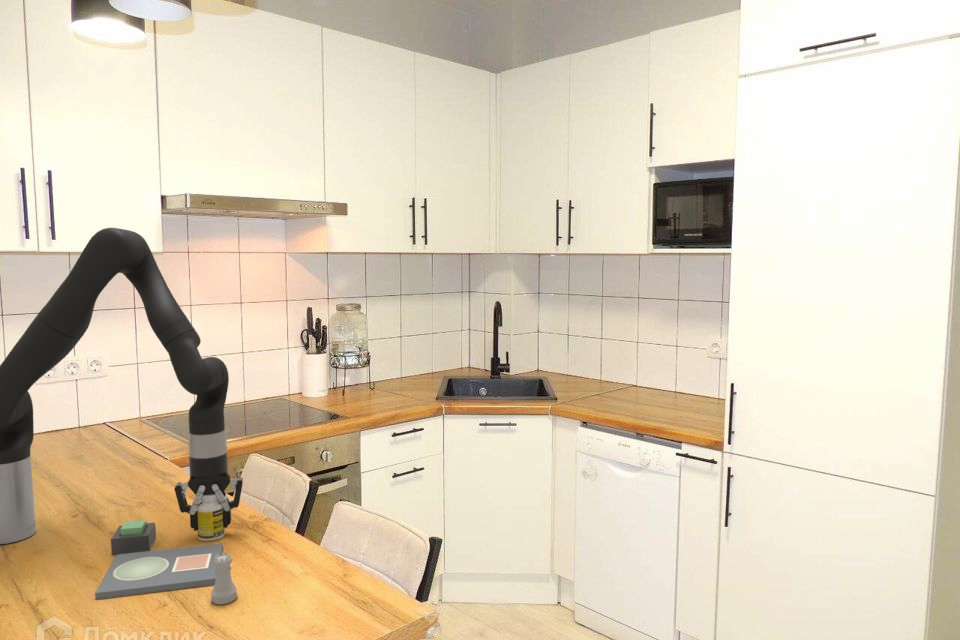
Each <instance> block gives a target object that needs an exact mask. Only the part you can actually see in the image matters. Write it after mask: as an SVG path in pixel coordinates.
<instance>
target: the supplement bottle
mask: <svg viewBox="0 0 960 640" xmlns="http://www.w3.org/2000/svg"><path fill="white" fill-rule="evenodd" d="M223 511H224V508H223V506H222V504H221V503H220V502H219V500H218V498H217V496H216V494H211V495H202V497H201V500H200V502H199V505H198V507H197V523H198V531H197V538H198V540H200V541H202V542H203V541H204V542H213V541H217V540H219V539H221V538H223V537H224V536H225V535H226V534H225V533H226V531H225V530H226V528H224V517H223Z"/></svg>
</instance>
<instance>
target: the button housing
mask: <svg viewBox="0 0 960 640" xmlns="http://www.w3.org/2000/svg"><path fill="white" fill-rule="evenodd" d="M122 526H123V525H119V526H118V527H117V528H116V530H115V532H114V533H113V535H112V537H111V538H110V548H111V556H112V557H113V556H115V557H116V555H118V554H127V553H136V552H145V551H151V550H150V549H152V548H153V545H154V543H155V541H156V539H157V533H156V522H154V521H152V522H146V530H145V532H144V534H136V535H126V536H121V530H120V529H121V528H122ZM151 547H152V548H151Z"/></svg>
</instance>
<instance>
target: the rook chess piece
mask: <svg viewBox="0 0 960 640" xmlns="http://www.w3.org/2000/svg"><path fill="white" fill-rule="evenodd" d="M232 562H233V558H232V557H231V554H230V553H229V552H226V553H225V552H223V553H222V556H220V554H218V555H216V556H215V560H214V561H213V564H214V565H215V566H216V569H215V572H216V581H215V585H213V587H212V590H211V593H210V596H211V598H210V601H211V602H212V603H213V604H214V605H218V606H223V605H227V604H231V603H233V602H234V601H235V600H236V598H237V597H238V592H237V590H238V589H237V587H236V585H235V584H234V582H233V579H232V576H231V575H232V573H231V570H232V567H231V563H232Z"/></svg>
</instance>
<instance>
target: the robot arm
mask: <svg viewBox="0 0 960 640" xmlns="http://www.w3.org/2000/svg"><path fill="white" fill-rule="evenodd" d="M118 274H122V275H124V276H125V278H126V279H127V280H128V281H129V282H130V283H131V284H132V286H133V287H134V289H136V291H137V293H138V295H139V297H140V299H141V301H142V304H143V307H144V310H145V314H146V319H147V320H148V323H149V325H150V327H151V330H152V331H153V333H154V335H155V336H156V338H157V339H158V341H159V342H160V344H161V345H162V346H163V347H164V349H165V351H166V352H167V353H168V356H169V359H170V363H171V365H172V368H173V371H174V374H175V376H176V378H177V380H178V383H179V384H180V385H181V386H182V388H183V389H184V390H185V391H187V392H188V393H189V394H192V395H196V399H195V402H193V404H192V405H191V407H190V408H189V410H188V430H189V431H188V433H189V435H188V457H189V458H188V462H189V479H188V481H185V482H180V481H179V482H177V483H176V485H175V486H174V492H175V496H176V500H177V504H178V507H179V511H180V513H187V514H189V522H190V525H189V527H190V528H191V529H193V531H194V532H198V523H197V507H198V505H199V503H200V502H201V501H200V500H201V497H202V495H211V494H216V496H217V498H218V500H219V502H220V503H221V504H222V506H223V508H224V511H223V517H224V528H225V529H227V528H228V527H229V525H231V522H232V510H233V509H236V508H238V507H239V506H240V500H241V495H242V490H243V482H244V478H243V477H240V476H239V477H238V478H232V477H231V476H230V474H229V472H228V471H229V470H228V469H229V468H228V451H227V450H228V443H227V435H226V429H225V428H226V427H225V426H226V425H225V412H224V411H225V405H226V401H227V394H228V389H229V379H230V378H229V371H228V368H227V365H226V363H224V361H223V360H222V359H220V358H219V357H216V356H207V357H204V358H202V356H201V354H200V351H199V349H198V348H199V346H200V345H201V337H200V335H199V333H198V332H197V331H196V329H195V327H194V326H193V325H192V323H191V321H190V320H189V318H188V317H187V315H186V314H185V312H184V310H182V308H181V306H180V305H179V304H178V302H177V300H176V298H175V296H174V295H173V293H172V292H171V290H170V288H169V285H167V282H166V280H165V278H164V277H163V274H162V272H161V270H160V269H159V266H158V263H157V260H156V259H155V257H154V254H153V252H152V250H151V248H150V245H149V244H148V242H147V240H145V238H144V237H143V236H142V235H141V234H139V233H138V232H136V231H134V230H133V231H132V230H128V229H126V228H125V229H124V228H120V227H106V228H102V229H100V230H98V231H97V232H96V233H94V235H92V236H91V238H90V239H89V241H88V242H87V244H86V245H85V247H84V248H83V250H82V252H81V253H80V255H79V257H78V259H77V260H76V262H75V264H74V266H73V267H72V268H71V270H70V271H69V273H68V275H67V276H66V278H65V279H64V280H63V282H62V283H61V284H60V285H59V287H58V288H57V290H55V292H54V293H53V295H51V297H50V298H49V300H48V301H47V303H46V304H45V305H44V306H43V307H42V308H41V309H40V310H39V312H38V314H37V315H36V316H35V317H34V319H33V320H32V321H31V322H30V324H29V325H28V326H27V328H26V329H25V331H24V333H23V334H22V335H21V337H20V338H19V339H18V340H17V342H16V344H14V346H13V347H12V349H11V350H10V351H9V352H8V354H7V356H6V357H5V358H4V360H3V361H2V362H1V364H0V545H5V544H6V545H7V544H11V543H16V542H19V541H22V540H26V539H28V538H30V537H31V536H33V535H34V534H35V533H36V530H37V529H36V528H37V527H36V524H37V523H36V515H35V514H36V511H35V510H36V509H35V498H34V486H33V485H34V484H33V471H32V470H33V469H32V457H31V448H32V447H31V446H32V444H33V441H34V406H33V405H34V404H33V400H32V397H31V394H30V392H29V390H30V389H31V387H32V386H33V385H34V384H35V383H36V382H37V381H38V380H39V379H41V378H42V377H43V376H45V375H46V374H47V373H49V371H51V370H52V369H53V368H54V367H55V366H57V365H58V364H59V363H61V362H62V361H63V359H65V358H66V357H67V356H68V355H69V354H70V353H71V352H72V351H73V349H74V348H75V346H77V344H78V343H79V341H80V340H81V339H82V337H84V335H85V333H86V332H87V330H88V329H89V326H90V324H91V322H92V318H93V313H94V309H95V305H96V302H97V299H98V298H99V296H100V295H101V293H102V292H103V291H104V289H105V288H106V286H108V285H109V283H110V281H112V280H113V279H114V278H115V276H116V275H118ZM230 484H231V487H232V489H233V490H235V491H234V498H233V500H231V501H230V499H229V497H228V494H227V491H226V489H227V488H228V487H229V485H230ZM188 488H189V490H191V491H192V492H193V493H194V495H195V496H194V498H193V501H192V504H188V501H187V497H186V493H187V491H188Z"/></svg>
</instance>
